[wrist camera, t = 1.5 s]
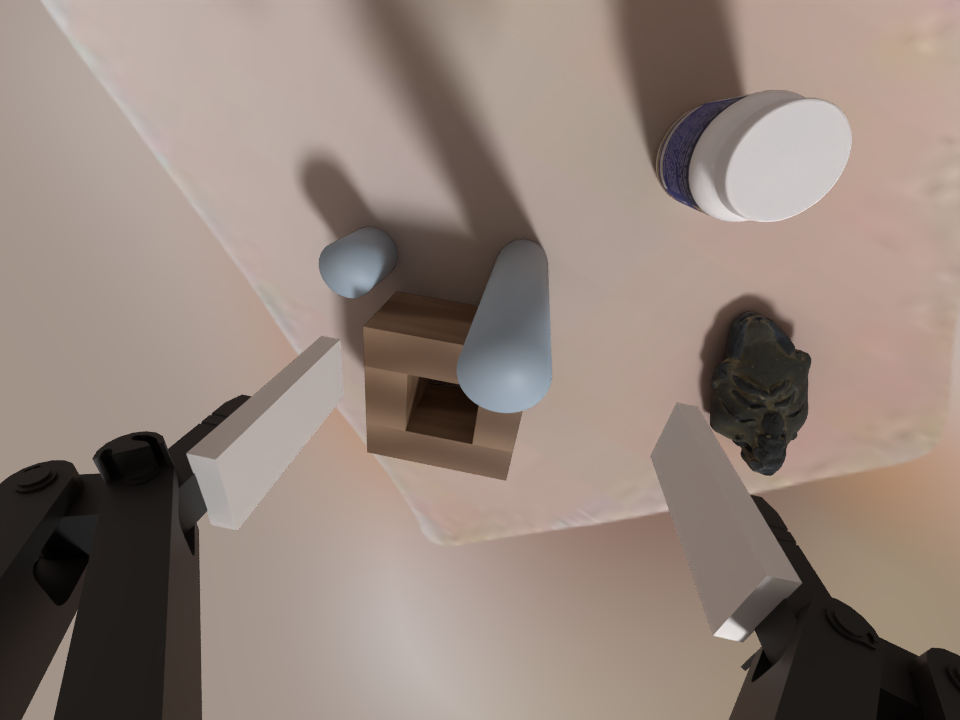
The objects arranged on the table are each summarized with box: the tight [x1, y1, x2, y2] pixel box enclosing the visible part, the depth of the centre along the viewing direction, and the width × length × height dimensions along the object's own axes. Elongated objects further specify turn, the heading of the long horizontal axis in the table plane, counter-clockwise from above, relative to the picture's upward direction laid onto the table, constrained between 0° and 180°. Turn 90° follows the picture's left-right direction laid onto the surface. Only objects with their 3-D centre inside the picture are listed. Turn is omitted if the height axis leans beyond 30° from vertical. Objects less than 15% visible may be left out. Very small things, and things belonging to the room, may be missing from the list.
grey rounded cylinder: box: [319, 227, 397, 298], centre depth 29 cm, size 4×4×5 cm
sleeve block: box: [363, 292, 522, 480], centre depth 32 cm, size 12×12×7 cm
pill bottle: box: [656, 90, 852, 222], centre depth 20 cm, size 6×6×10 cm
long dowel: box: [457, 239, 552, 413], centre depth 23 cm, size 4×4×16 cm
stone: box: [710, 311, 811, 476], centre depth 30 cm, size 7×13×5 cm, turn 17°
